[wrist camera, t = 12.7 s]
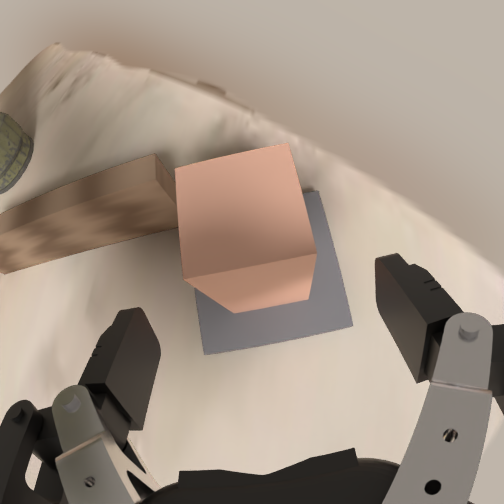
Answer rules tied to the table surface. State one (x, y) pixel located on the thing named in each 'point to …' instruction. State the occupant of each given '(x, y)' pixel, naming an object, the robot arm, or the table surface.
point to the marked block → (245, 229)
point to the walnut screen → (89, 214)
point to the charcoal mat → (287, 315)
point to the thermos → (12, 152)
